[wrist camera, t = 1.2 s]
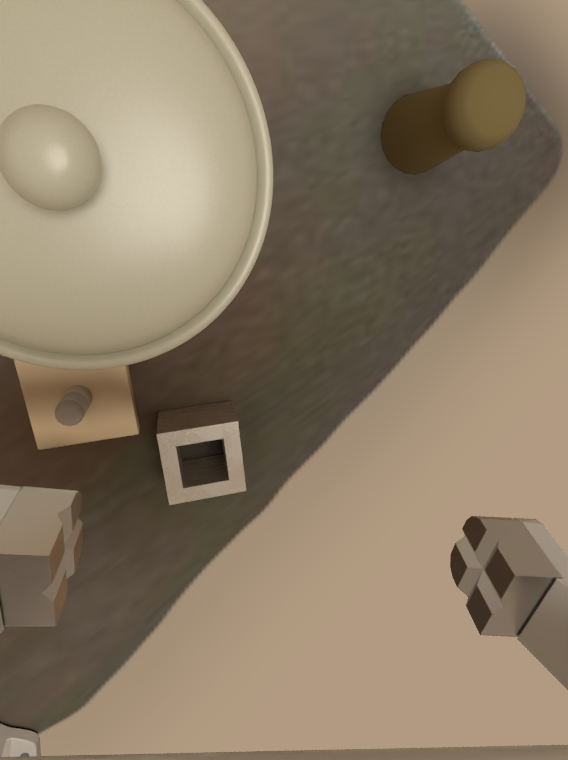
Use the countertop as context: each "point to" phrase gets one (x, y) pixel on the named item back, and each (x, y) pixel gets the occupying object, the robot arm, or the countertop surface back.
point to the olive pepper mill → (454, 117)
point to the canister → (123, 178)
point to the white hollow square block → (205, 472)
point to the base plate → (78, 404)
